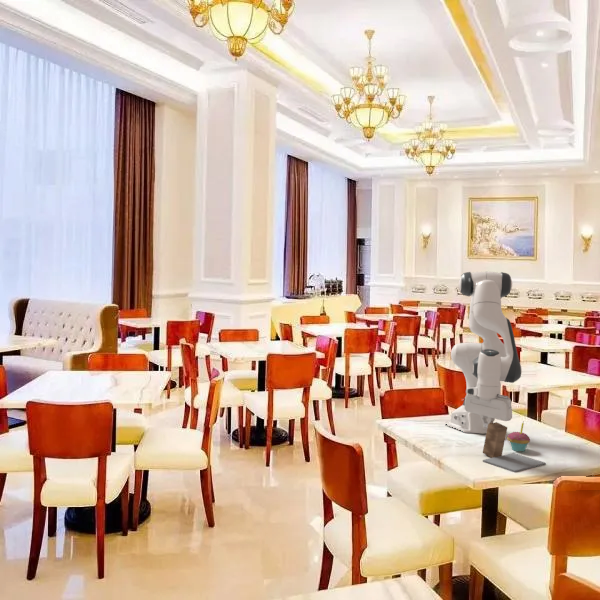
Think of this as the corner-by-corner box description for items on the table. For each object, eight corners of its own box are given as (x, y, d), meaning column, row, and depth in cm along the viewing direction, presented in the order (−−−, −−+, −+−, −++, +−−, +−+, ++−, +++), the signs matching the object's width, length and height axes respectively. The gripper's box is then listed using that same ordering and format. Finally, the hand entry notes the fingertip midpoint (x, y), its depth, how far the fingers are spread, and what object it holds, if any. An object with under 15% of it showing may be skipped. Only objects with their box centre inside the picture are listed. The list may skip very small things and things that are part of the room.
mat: (482, 461, 225) (482, 459, 225) (513, 454, 235) (513, 452, 235) (514, 472, 214) (514, 470, 214) (545, 464, 224) (545, 462, 224)
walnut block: (481, 452, 234) (487, 423, 231) (490, 450, 236) (496, 421, 234) (492, 458, 229) (498, 428, 227) (501, 456, 232) (507, 427, 230)
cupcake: (534, 451, 240) (535, 421, 240) (519, 454, 236) (520, 423, 235) (516, 445, 248) (517, 416, 247) (502, 448, 243) (503, 418, 243)
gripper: (516, 396, 227) (515, 432, 227) (473, 387, 244) (472, 421, 244) (505, 397, 223) (504, 434, 224) (462, 388, 240) (461, 423, 241)
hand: (487, 427), depth 234 cm, fingers closed
